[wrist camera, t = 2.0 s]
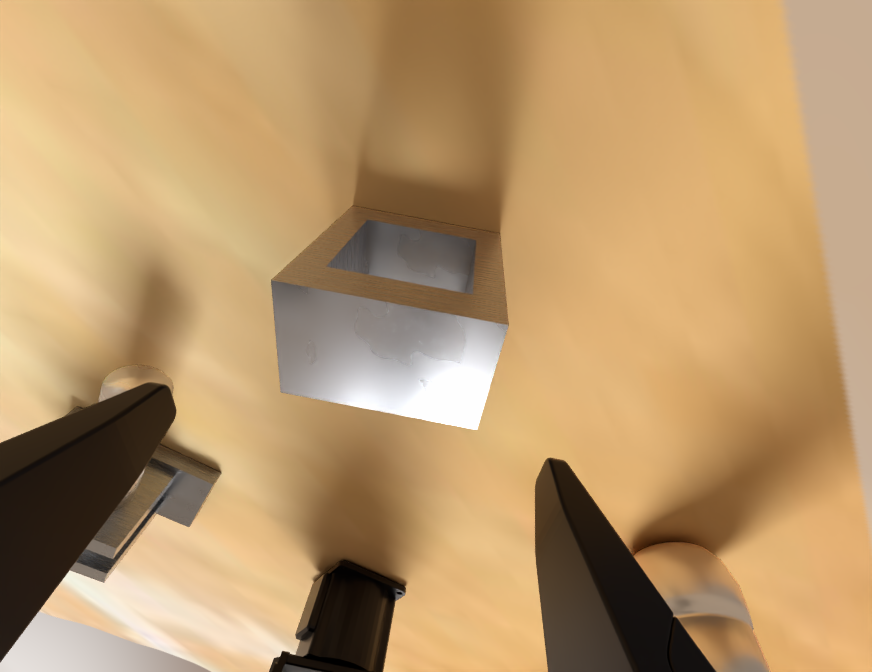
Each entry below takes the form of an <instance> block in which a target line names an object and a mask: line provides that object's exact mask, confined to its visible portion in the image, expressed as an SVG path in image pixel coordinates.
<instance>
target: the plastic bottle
mask: <svg viewBox="0 0 872 672" xmlns="http://www.w3.org/2000/svg"><path fill="white" fill-rule="evenodd" d="M634 558H635V559H636V561H637V562H638V563H639V565H640V566H641V568H642V569H643V571H644V572H645V573H646V575H647V576H648V578H649V579H650V580H651V582H652V583H653V585H654V586H655V587H656V589H657V590H658V592H659V593H660V594H661V596H662V597H663V599H664V600H665V601H666V603H667V604H668V606H669V607H670V609H671V610H672V611H673V614H674V616H675V617H677V618H678V620H679V621H680V622H681V624H682V625H683V627H684V628H685V629H686V631H687V632H688V634H689V635H690V636H691V638H692V639H693V641H694V642H695V643H696V645H697V646H698V647H699V649H700V650H701V651H702V653H703V654H704V655H705V657H706V658H707V660H708V661H709V662H710V664H711V665H712V666H713V668H714V669H715V670H716V672H771V671H770V669H769V666H768V664H767V661H766V659H765V657H764V654H763V652H762V649H761V647H760V645H759V642H758V640H757V637H756V635H755V633H754V631H753V624H752V621H751V617H750V614H749V610H748V607H747V605H746V602H745V599H744V597H743V594H742V591H741V589H740V586H739V584H738V583H737V581H736V580H735V579H734V577H733V576H732V574H731V573H730V571H729V570H728V569H727V567H726V566H725V564H724V563H723V562H722V560H721V559H719V558H718V557H716V556H715V555H714V554H712V553H711V552H709V551H708V550H707V549H705V548H703V547H701V546H699V545H696V544H692V543H686V542H666V543H660V544H656V545H652V546H649V547H647V548H644V549H642V550H641V551H639V552H637V553H636V554H635V555H634ZM674 616H673V617H674Z"/></svg>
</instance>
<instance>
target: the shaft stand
mask: <svg viewBox="0 0 872 672" xmlns="http://www.w3.org/2000/svg"><path fill="white" fill-rule="evenodd" d="M147 382H155V383H160V384H165V385H167V386H168V387H169V388H170V390H171V393H172V394H173V388H174V387H173V383H172V381H171V379H170V378H169V377H168V376H167V375H166V374H165V373H164V372H162V371H161V370H159V369H157V368H154V367H150V366H145V365H129V366H124V367H121V368H118V369H116V370H114V371H112V372H111V373H110V374H108V375H107V376H106V378H105V379H104V381H103V383H102V387H101V391H100V396H99V401H98V402H101V401H103V400H105V399H108V398H110V397H113V396H115V395H118V394H120V393H122V392H125V391H127V390H130V389H132V388H134V387H137V386H139V385H142V384H144V383H147ZM81 409H82V408H80V407H78V406H77V407H76V408H75V409H73V410H72V411H71V412H70V413H68V414H67V415H69V414H72V413H74V412H76V411H79V410H81ZM67 415H66V416H67ZM220 474H221V472H219V471H216V470H214V469H212V468H210V467H208V466H206V465H203V464H201V463H199V462H197V461H195V460H193V459H190V458H188V457H186V456H184V455H182V454H180V453H177V452H175V451H173V450H171V449H169V448H167V447H164V446H162V445H160V444H159V446H158V447H157V449H156V451H155V452H154V454H153V456H152V457H151V459H150V460H149V462H148V464H147V465H146V467H145V469H144V470H143V472H142V473H141V475H140V476H139V478H138V479H137V481H136V482H135V483H134V485H133V486H132V488H131V489H130V490H129V492H128V493H127V494H126V496H125V497H124V498H123V500H122V501H121V502H120V504H119V505H118V506H117V508H116V509H115V510H114V512H113V513H112V514H111V516H110V517H109V518H108V520H107V521H106V522H105V524H104V525H103V526H102V528H101V529H100V530H99V532H98V533H97V534H96V536H95V537H94V538H93V540H92V541H91V542H90V544H89V545H88V546H87V548H86V549H85V550H84V552H83V553H82V554H81V556H80V557H79V558H78V560H77V561H76V562H75V564H74V565H73V566H72V568H71V569H70V570H71V571H73V572H76V573H79V574H82V575H84V576H87V577H90V578H92V579H95V580H98V581H101V582H103V583H104V582H105V581H106V579H107V578H108V577H109V575H110V574H111V573H112V571H113V570H114V569H115V568H116V566H117V565H118V564H119V562H120V561H121V560H122V558H123V557H124V556H125V555H126V553H127V552H128V551H129V549H130V548H131V547H132V545H133V544H134V543H135V541H136V540H137V539H138V538H139V536H140V535H141V534H142V532H143V531H144V530H145V528H146V527H147V526H148V525H149V523H150V522H151V521H152V519H153V518H154V517H155V515H156V514H159V515H161V516H163V517H166V518H168V519H171V520H173V521H175V522H178V523H180V524H183V525H185V526H187V527H190V525H191V524H192V522H193V521H194V519H195V518H196V516H197V515H198V513H199V511H200V510H201V508H202V506H203V504H204V503H205V501H206V499H207V497H208V495H209V494H210V492H211V490H212V488H213V487H214V485H215V483H216V481H217V480H218V478H219V476H220Z"/></svg>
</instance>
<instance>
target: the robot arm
mask: <svg viewBox="0 0 872 672" xmlns="http://www.w3.org/2000/svg"><path fill="white" fill-rule="evenodd" d="M175 416H176V407H175V403H174V400H173V396H172V393H171V390H170V388H169V387H168V386H167V385H165V384H160V383H155V382H147V383H144V384H142V385H139V386H137V387H134V388H132V389H130V390H127V391H125V392H122V393H120V394H118V395H115V396H113V397H110V398H108V399H105V400H103V401H101V402H98V403H96V404H93V405H91V406H88V407H86V408H84V409H81V410H79V411H76V412H74V413H72V414H69V415H67V416H64V417H62V418H59V419H57V420H55V421H52V422H50V423H47V424H45V425H43V426H40V427H38V428H35V429H33V430H30V431H28V432H26V433H23V434H21V435H18V436H16V437H13V438H11V439H9V440H6V441H4V442H1V443H0V662H1V661H2V660H3V658H4V657H5V655H6V654H7V653H8V652H9V650H10V649H11V648H12V646H13V645H14V644H15V642H16V641H17V640H18V638H19V637H20V635H21V634H22V633H23V632H24V630H25V629H26V628H27V626H28V625H29V624H30V622H31V621H32V620H33V618H34V617H35V616H36V614H37V613H38V612H39V610H40V609H41V608H42V606H43V605H44V604H45V602H46V601H47V600H48V598H49V597H50V596H51V594H52V593H53V592H54V590H55V589H56V588H57V586H58V585H59V584H60V582H61V581H62V580H63V578H64V577H65V576H66V574H67V573H68V572H69V570H70V569H71V568H72V566H73V565H74V564H75V562H76V561H77V560H78V558H79V557H80V556H81V554H82V553H83V552H84V550H85V549H86V548H87V546H88V545H89V544H90V542H91V541H92V540H93V538H94V537H95V536H96V534H97V533H98V532H99V530H100V529H101V528H102V526H103V525H104V524H105V522H106V521H107V520H108V518H109V517H110V516H111V514H112V513H113V512H114V510H115V509H116V508H117V506H118V505H119V504H120V502H121V501H122V500H123V498H124V497H125V496H126V494H127V493H128V492H129V490H130V489H131V488H132V486H133V485H134V483H135V482H136V481H137V479H138V478H139V476H140V475H141V473H142V472H143V470H144V469H145V467H146V465H147V464H148V462H149V460H150V459H151V457H152V456H153V454H154V452H155V451H156V449H157V447H158V446H159V444H160V442H161V441H162V439H163V437H164V436H165V434H166V432H167V431H168V429H169V427H170V426H171V424H172V423H173V421H174V419H175ZM535 555H536V566H537V575H538V584H539V593H540V602H541V611H542V620H543V629H544V638H545V647H546V656H547V665H548V672H716V670H715V669H714V668H713V666H712V665H711V664H710V662H709V661H708V660H707V658H706V657H705V655H704V654H703V653H702V651H701V650H700V649H699V647H698V646H697V645H696V643H695V642H694V641H693V639H692V638H691V636H690V635H689V634H688V632H687V631H686V629H685V628H684V627H683V625H682V624H681V622H680V621H679V620H678V618H677V617H675V616H674V614H673V611H672V610H671V609H670V607H669V606H668V604H667V603H666V601H665V600H664V599H663V597H662V596H661V594H660V593H659V592H658V590H657V589H656V587H655V586H654V585H653V583H652V582H651V580H650V579H649V578H648V576H647V575H646V573H645V572H644V571H643V569H642V568H641V566H640V565H639V563H638V562H637V561H636V559H635V558H634V556H633V555H632V554H631V552H630V551H629V549H628V548H627V547H626V545H625V544H624V542H623V541H622V540H621V538H620V537H619V535H618V534H617V532H616V531H615V530H614V528H613V527H612V525H611V524H610V523H609V521H608V520H607V518H606V517H605V516H604V514H603V513H602V511H601V510H600V509H599V507H598V506H597V504H596V503H595V502H594V500H593V499H592V497H591V496H590V494H589V493H588V492H587V490H586V489H585V487H584V486H583V485H582V483H581V482H580V480H579V479H578V478H577V476H576V475H575V473H574V472H573V471H572V469H571V468H570V466H569V465H568V464H567V463H566V462H565V461H564V460H560V459H555V458H547V459H546V461H545V462H544V464H543V467H542V469H541V471H540V473H539V475H538V477H537V480H536V484H535ZM405 592H406V588H405V587H404V586H402V585H399V584H397V583H395V582H393V581H390V580H388V579H386V578H384V577H381V576H379V575H377V574H374V573H372V572H370V571H368V570H365V569H363V568H361V567H359V566H356V565H354V564H352V563H350V562H347V561H340V562H338V563H337V564H336V565H335V566H334V567H333V568H332V569H330V570H329V571H328V572H327V573H325V574H323V575H322V576H321V577H320V578H319V579H318V580H317V581H315V582H314V583H313V585H312V588H311V591H310V594H309V597H308V599H307V602H306V605H305V608H304V611H303V614H302V617H301V620H300V623H299V625H298V628H297V631H296V634H295V635H296V639H298V640H300V643H299V646H298V649H297V652H296V655H292V654H290V652H286V651H282V653H281V656H280V657H277V658H274V660H273V662H272V665H271V668H270V671H269V672H383V669H384V663H385V658H386V652H387V646H388V641H389V635H390V629H391V623H392V618H393V612H394V606H395V601H397V600H398V599H400V598H401V597H403V596H404V595H405ZM673 616H674V617H673Z"/></svg>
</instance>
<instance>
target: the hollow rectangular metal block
mask: <svg viewBox="0 0 872 672" xmlns="http://www.w3.org/2000/svg"><path fill="white" fill-rule="evenodd" d="M271 285H272V296H273V308H274V320H275V331H276V343H277V354H278V366H279V378H280V389H281V393H287V394H292V395H297V396H302V397H308V398H313V399H318V400H323V401H328V402H334V403H339V404H344V405H349V406H355V407H360V408H365V409H370V410H376V411H381V412H386V413H391V414H396V415H402V416H407V417H412V418H417V419H423V420H428V421H433V422H438V423H443V424H449V425H454V426H459V427H464V428H470V429H475V430H477V428H478V424H479V421H480V418H481V414H482V411H483V408H484V404H485V401H486V398H487V395H488V391H489V388H490V385H491V381H492V378H493V375H494V372H495V368H496V365H497V362H498V358H499V355H500V352H501V348H502V345H503V342H504V339H505V335H506V332H507V329H508V325H509V324H508V314H507V303H506V292H505V281H504V270H503V260H502V249H501V238H500V233H495V232H489V231H484V230H479V229H474V228H468V227H463V226H458V225H452V224H447V223H442V222H436V221H431V220H426V219H420V218H415V217H410V216H404V215H399V214H394V213H388V212H383V211H378V210H373V209H367V208H362V207H357V206H352V207H351V208H350V209H349V210H348V211H346V212H345V213H344V214H343V215H342V216H341V217H340V218H339V219H338V220H337V221H335V222H334V223H333V224H332V225H331V226H330V227H329V228H328V229H327V230H326V231H325V232H323V233H322V234H321V235H320V236H319V237H318V238H317V239H316V240H315V241H314V242H312V243H311V244H310V245H309V246H308V247H307V248H306V249H305V250H304V251H303V252H301V253H300V254H299V255H298V256H297V257H296V258H295V259H294V260H293V261H292V262H290V263H289V264H288V265H287V266H286V267H285V268H284V269H283V270H282V271H281V272H279V273H278V274H277V275H276V276H275V277H274V278H273V279H272V280H271Z"/></svg>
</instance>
